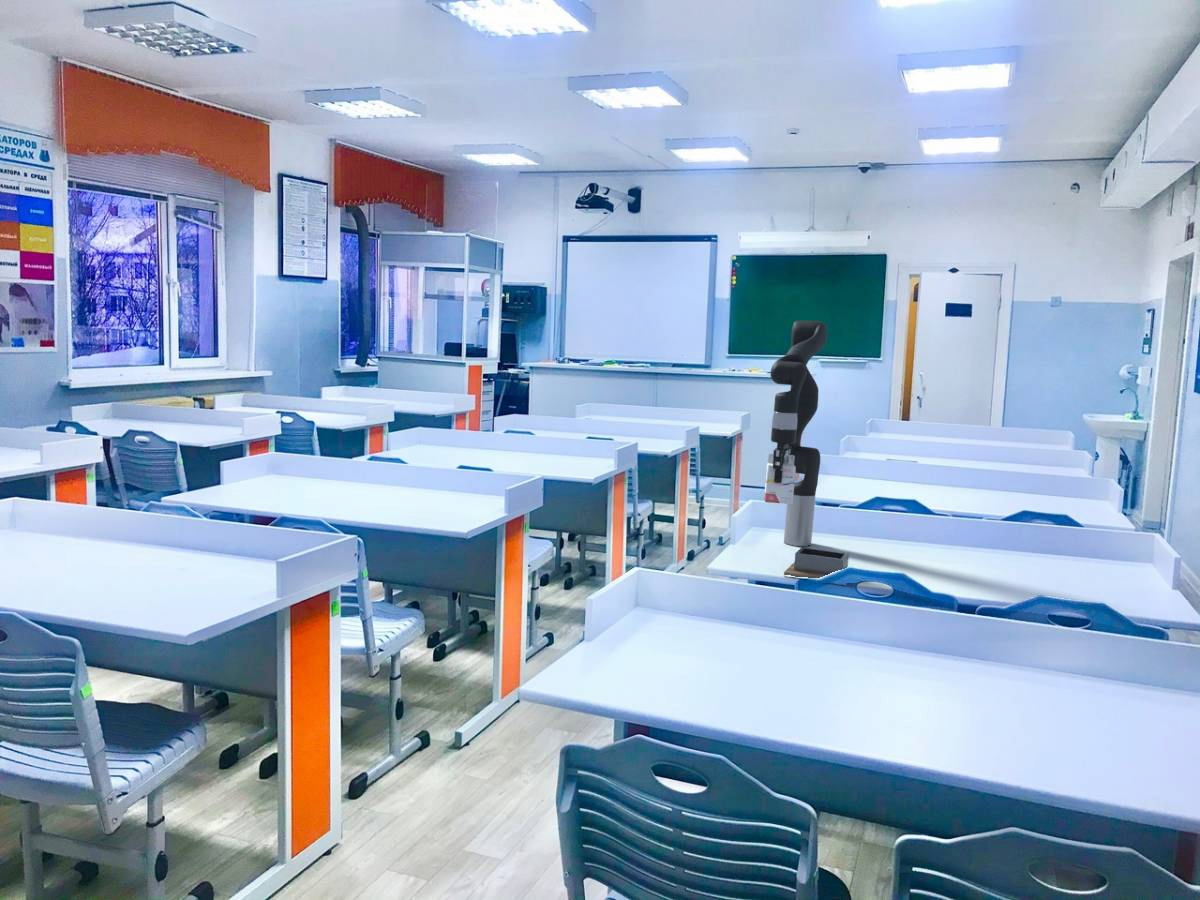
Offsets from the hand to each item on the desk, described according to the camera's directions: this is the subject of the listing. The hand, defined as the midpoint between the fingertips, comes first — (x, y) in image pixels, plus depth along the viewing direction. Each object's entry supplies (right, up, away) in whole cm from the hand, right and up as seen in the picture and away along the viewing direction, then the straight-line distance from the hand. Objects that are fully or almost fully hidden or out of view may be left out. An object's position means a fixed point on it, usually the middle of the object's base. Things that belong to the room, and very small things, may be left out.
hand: (780, 481), depth 299 cm
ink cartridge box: (0, -7, +1) cm, 7 cm away
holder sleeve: (+10, -26, -10) cm, 30 cm away
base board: (+10, -27, -10) cm, 31 cm away
